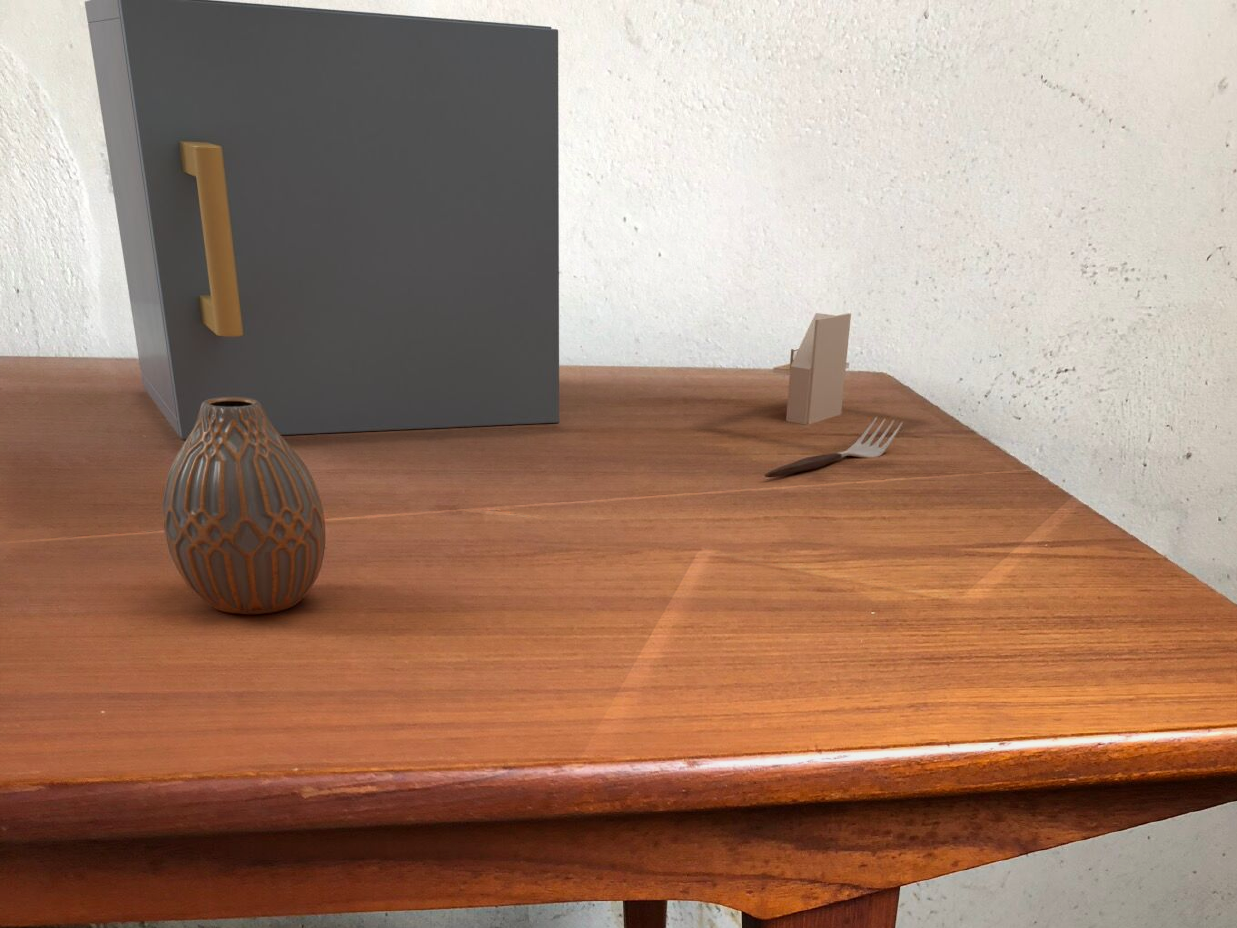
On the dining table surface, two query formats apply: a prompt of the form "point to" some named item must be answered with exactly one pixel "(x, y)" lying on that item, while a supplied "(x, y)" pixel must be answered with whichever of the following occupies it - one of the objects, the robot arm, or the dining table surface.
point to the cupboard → (132, 191)
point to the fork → (840, 453)
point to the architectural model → (818, 370)
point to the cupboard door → (351, 213)
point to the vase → (243, 512)
